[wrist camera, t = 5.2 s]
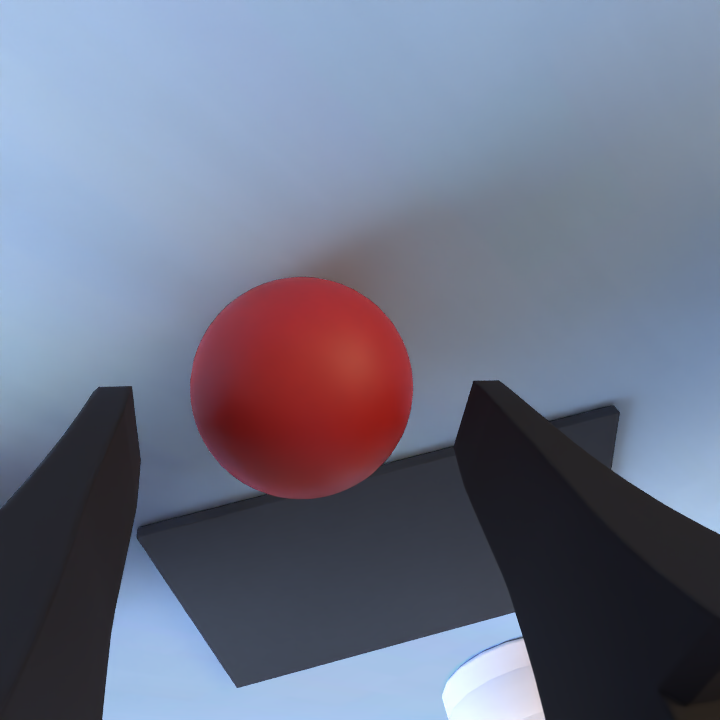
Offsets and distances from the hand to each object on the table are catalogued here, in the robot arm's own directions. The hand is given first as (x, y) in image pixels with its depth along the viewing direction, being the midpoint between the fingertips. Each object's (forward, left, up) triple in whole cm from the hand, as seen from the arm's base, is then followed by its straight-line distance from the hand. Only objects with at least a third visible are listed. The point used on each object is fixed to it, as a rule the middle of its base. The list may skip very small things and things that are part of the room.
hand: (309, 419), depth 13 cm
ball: (0, 0, -4) cm, 4 cm away
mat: (+1, -12, -4) cm, 12 cm away
